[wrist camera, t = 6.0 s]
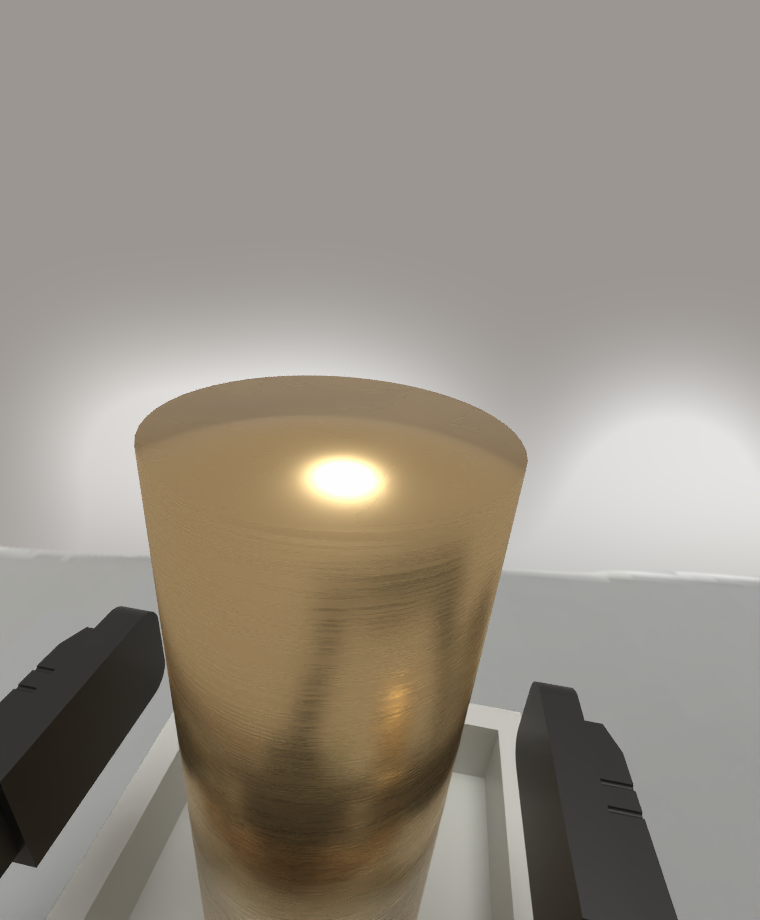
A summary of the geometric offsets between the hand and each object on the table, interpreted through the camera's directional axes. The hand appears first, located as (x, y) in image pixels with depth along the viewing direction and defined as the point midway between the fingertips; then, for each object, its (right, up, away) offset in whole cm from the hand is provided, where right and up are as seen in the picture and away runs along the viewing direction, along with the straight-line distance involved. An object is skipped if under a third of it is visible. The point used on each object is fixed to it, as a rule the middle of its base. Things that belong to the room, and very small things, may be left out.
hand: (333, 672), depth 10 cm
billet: (-1, -8, +2) cm, 8 cm away
